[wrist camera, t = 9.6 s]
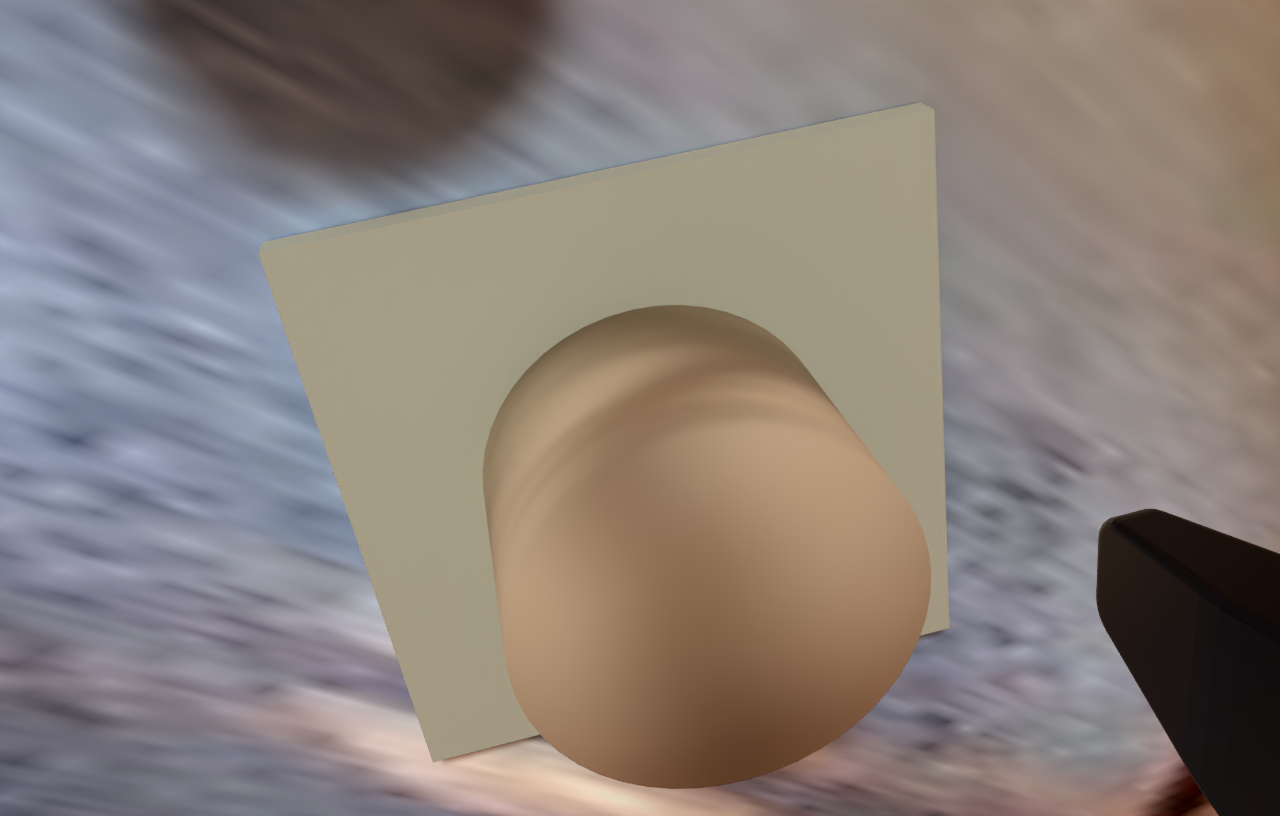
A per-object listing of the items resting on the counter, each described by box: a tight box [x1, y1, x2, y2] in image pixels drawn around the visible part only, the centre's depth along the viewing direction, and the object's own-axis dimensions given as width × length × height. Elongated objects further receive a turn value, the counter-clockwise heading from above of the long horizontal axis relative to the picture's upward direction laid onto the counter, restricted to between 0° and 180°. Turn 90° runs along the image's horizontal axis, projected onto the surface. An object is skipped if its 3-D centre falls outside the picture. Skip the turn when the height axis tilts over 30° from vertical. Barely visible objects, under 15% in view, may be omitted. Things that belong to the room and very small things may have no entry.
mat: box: [259, 102, 949, 762], centre depth 22 cm, size 12×12×1 cm
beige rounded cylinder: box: [482, 305, 931, 789], centre depth 20 cm, size 7×7×5 cm
